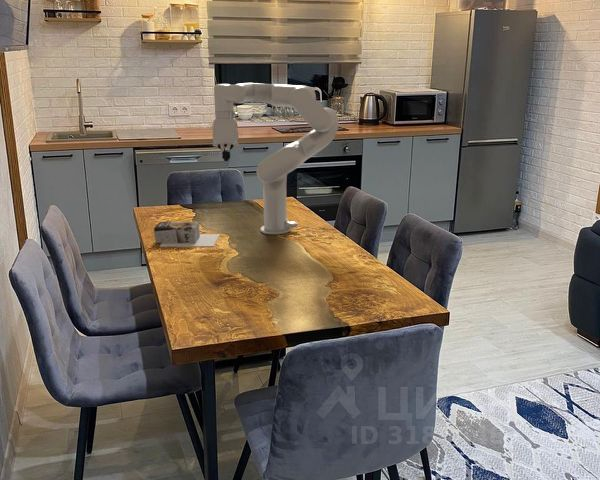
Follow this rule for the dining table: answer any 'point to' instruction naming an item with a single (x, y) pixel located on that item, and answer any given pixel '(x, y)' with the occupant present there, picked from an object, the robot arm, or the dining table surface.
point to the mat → (202, 241)
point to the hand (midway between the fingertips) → (226, 160)
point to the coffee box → (177, 232)
